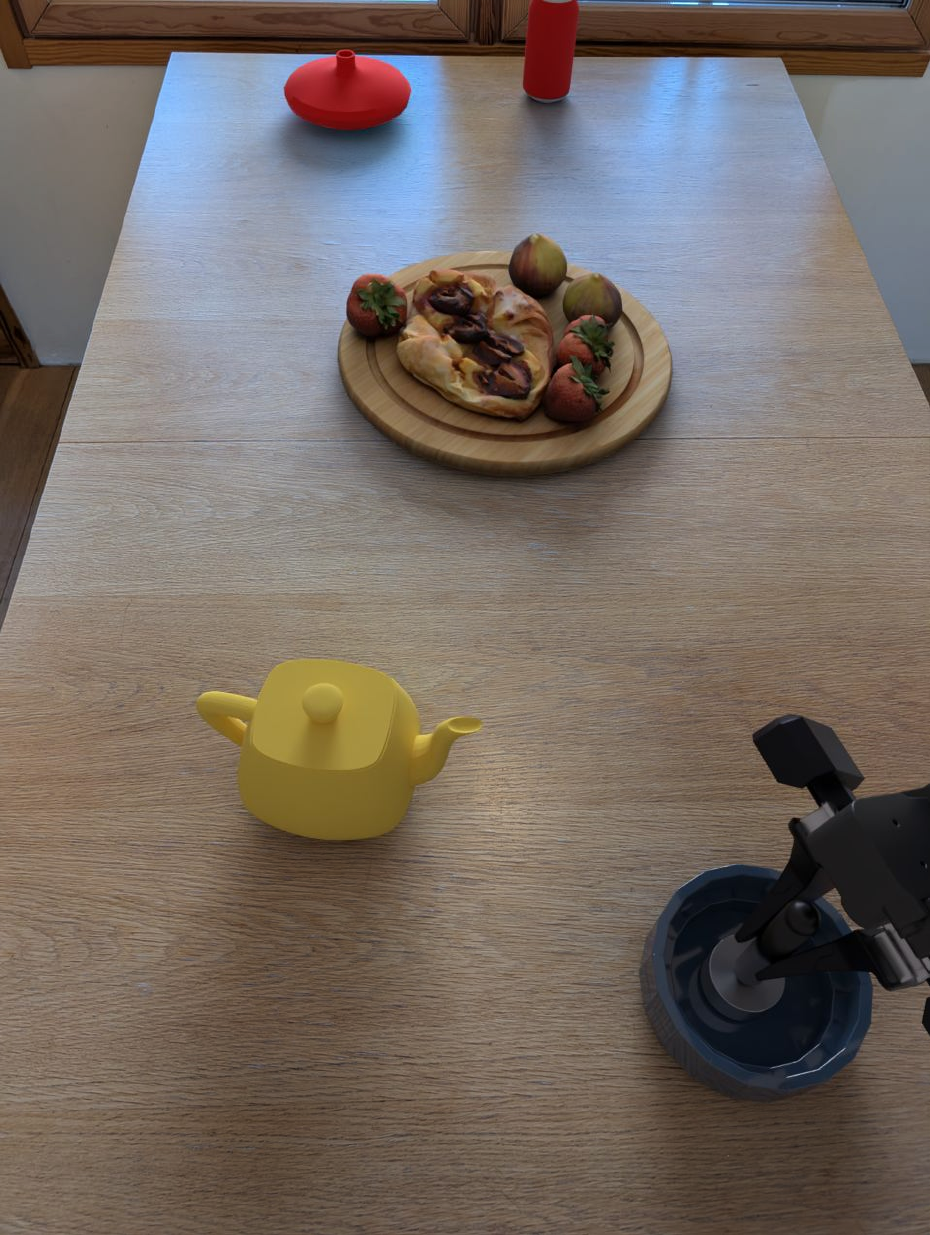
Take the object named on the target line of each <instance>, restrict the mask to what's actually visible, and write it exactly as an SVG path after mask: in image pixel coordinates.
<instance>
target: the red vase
mask: <svg viewBox="0 0 930 1235" xmlns="http://www.w3.org/2000/svg"><path fill="white" fill-rule="evenodd" d="M411 95H412V88H411V84H410V82H409V80H408V79H407V77H406V76H405V75H404V74H403V73H402V72H401V71H400V69H398V68H396V67H395V66H393V65H392V64H391V63H388V62H386V61H382V60H380V59H378V58H377V59H376V58H371V57H368V56H361V55H356V54H355V52H354V51H353V50H351V49H340V50H338V51H337V52H336V54H335V55H334V56H326V57H321V58H318V59H315V60H312V61H311V60H310V61H308V62H306V63H305V64H302V65H300V66H299V67H297V68H296V69H295V70H294V71H293V72H292V73H291V74H290V75H289V77H288V78H287V80H286V82H285V84H284V86H283V96H284V98H285V100H286V103H287V105H288V107H289V109H291V111H292V112H293V113H294V114H295V115H296V116H297V117H299V118H300V119H301V120H303V121H305V122H308V123H311V124H313V125H316V126H319V127H323V128H328V129H332V130H337V131H361V130H366V129H371V128H374V127H377V126H380V125H383V124H386V123H390V122H391V121H393V120H394V119H396V118H398V117H399V116H401V115H402V114H403V112H404V111H405V110H406V109H407V107H408V104H409V102H410V97H411Z"/></svg>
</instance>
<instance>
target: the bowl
mask: <svg viewBox="0 0 930 1235" xmlns="http://www.w3.org/2000/svg"><path fill="white" fill-rule="evenodd" d="M782 872H783V871H779V870H778V869H775V868H771V867H766V866H757V865H750V864H743V863H733V864H730V865H729V864H728V865H724V866H720V867H719V866H718V867H715V868H710V869H706V870H703V871H702V872H700V873H699V874H698V875H696V876H695V877H693V878H691V879H690V880H688V881H687V882H685V883H684V884H683V885H681V886H680V887H678V888H677V889H676V890H675V892H674V893H673V895H672V896H671V897H670V899H669V901H668V902H667V904H666V905H665V907H664V908H663V909H662V911H661V913H660V915H659V916H658V917H657V920H656V921H655V923H653V926H652V927H651V929H650V930H649V932H648V933H647V935H646V937H645V940H644V945H643V950H642V955H641V961H640V965H639V970H638V972H639V973H638V975H639V983H640V989H641V996H642V1002H643V1009H644V1011H645V1015H646V1016H647V1018H648V1020H649V1022H650V1025H651V1027H652V1028H653V1031H654V1033H655V1034H656V1037H657V1039H658V1041H659V1043H660V1045H661V1046H662V1047H663V1049H664V1051H666V1052H667V1054H668V1055H669V1056H670V1057H671V1058H672V1059H673V1060H674V1061H675V1062H676V1063H677V1064H678V1065H679V1066H680V1067H681V1069H682V1070H683V1071H684V1072H685V1073H686V1074H687V1075H688V1076H690V1078H692V1079H693V1080H695V1081H696V1082H698V1083H700V1084H702V1085H704V1086H706V1087H708V1088H709V1089H712V1090H713V1091H715V1092H717V1093H719V1094H720V1095H723V1096H724V1097H726V1098H729V1099H735V1100H741V1101H746V1102H747V1101H748V1102H754V1103H760V1104H770V1103H775V1102H779V1101H783V1100H787V1099H791V1098H794V1097H795V1098H796V1097H799V1096H803V1094H806V1093H808V1092H810V1091H812V1090H814V1089H816V1088H817V1087H819V1086H821V1085H823V1084H825V1083H827V1082H828V1081H830V1080H831V1079H832V1078H834V1077H835V1076H836V1075H837V1074H838V1073H839V1072H840V1071H842V1070H843V1069H845V1067H847V1066H848V1065H849V1064H851V1062H853V1061H854V1060H855V1059H856V1057H857V1056H858V1053H859V1051H860V1049H861V1047H862V1045H863V1042H864V1041H865V1038H866V1037H867V1034H868V1032H869V1030H870V1028H871V1025H872V1016H873V1014H872V1013H873V998H874V984H873V981H872V980H873V979H872V977H871V972H856V971H827V972H819V973H812V974H806V975H799V976H792V977H785V986H784V991H783V994H782V996H781V998H780V999H779V1001H778V1002H777V1003H776V1004H775V1005H774V1006H773V1007H771V1008H770V1009H769V1010H768V1011H767V1012H765V1013H764V1014H763V1015H761V1016H760V1017H758V1018H756V1019H753V1020H748V1021H739V1020H734V1019H731V1018H729V1017H726V1016H725V1015H723V1014H721V1013H720V1012H719V1011H717V1010H716V1009H715V1008H714V1007H713V1006H712V1005H711V1003H710V1002H709V1001H708V999H707V997H706V996H705V993H704V991H703V988H702V984H701V969H702V965H703V962H704V960H705V959H706V957H707V956H708V955H709V953H710V952H711V951H712V950H713V949H714V947H715V946H716V945H717V944H718V943H719V942H720V941H721V940H723V939H724V938H726V937H729V936H732V935H735V934H736V933H737V932H738V930H739V929H740V928H741V927H742V925H743V924H744V923H745V921H746V920H747V919H748V918H749V916H750V915H751V914H752V913H753V911H754V910H755V909H756V908H757V906H758V905H759V904H760V902H761V901H762V900H763V899H764V897H765V896H766V895H767V894H768V893H769V891H770V890H771V888H772V887H773V886H774V884H775V883H776V882H777V880H778V878H779V877H780V875H781V873H782ZM812 904H814V905H815V906H816V908H817V909H818V911H819V913H820V916H821V925H820V927H819V929H818V931H817V932H816V933H815V934H814V935H813V936H812V937H810V938H809V939H808V940H807V941H806V942H805V943H804V944H803V945H802V946H801V947H800V948H798V949H797V950H796V951H795V952H794V953H793V954H792V955H791V956H793V955H796V954H798V953H801V952H804V951H807V950H809V949H812V948H815V947H817V946H820V945H823V944H826V943H828V942H831V941H834V940H836V939H839V938H841V937H843V936H845V935H846V934H848V933H850V932H852V931H853V930H852V929H851V927H850V926H849V924H848V922H847V920H846V919H845V918H844V917H843V914H842V913H841V912H840V911H839V910H838V909H837V908H836V907H835V906H834V905H833V904H832V903H830V902H829V901H828V900H827V899H826V898H825V897H824V896H822V897H820V898H819V899H817V900H816V901H814V902H813V903H812Z"/></svg>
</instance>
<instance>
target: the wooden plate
mask: <svg viewBox="0 0 930 1235" xmlns="http://www.w3.org/2000/svg"><path fill="white" fill-rule="evenodd" d="M345 305H346V307H345V314H346V319H345V321H344V322H343V325H342V328H341V330H340V334H339V338H338V343H337V365H338V371H339V376H340V379H341V383H342V385H343V388H344V391H345V393H346V395H347V397H348V399H349V400H350V402H351V403H352V405H353V406H354V408H355V409H356V411H357V412H358V413H359V414H360V415H361V416H362V417H363V419H364V420H365V421H367V423H369V424H370V425H371V426H372V428H374V429H375V430H376V431H377V432H378V433H380V435H382V436H384V437H385V438H386V439H388V440H389V441H391V442H392V443H394V444H395V445H396V446H398V447H400V448H402V449H403V450H405V451H407V452H408V453H410V454H413V455H416V456H418V457H420V458H422V459H424V460H427V461H430V462H432V463H436V464H438V465H440V466H445V467H447V468H453V469H456V470H461V471H466V472H469V473H475V474H476V473H478V474H483V475H490V476H504V477H505V476H506V477H524V476H525V477H526V476H541V475H550V474H555V473H560V472H566V471H571V470H574V469H578V468H582V467H585V466H587V465H588V466H589V465H590V464H593V463H596V462H598V461H601V460H603V459H605V458H607V457H609V456H612V454H615V453H617V452H618V451H620V450H622V449H623V448H625V447H627V446H628V445H630V444H631V443H632V442H634V441H635V440H637V438H639V437H640V436H641V435H643V433H644V432H645V431H647V429H648V428H649V427H650V426H651V425H652V424H653V422H654V421H655V420H656V419H657V417H658V416H659V414H660V412H661V411H662V409H663V408H664V406H665V403H666V402H667V400H668V397H669V393H670V390H671V388H672V387H671V386H672V380H673V370H674V369H673V356H672V351H671V348H670V345H669V341H668V339H667V337H666V335H665V332H664V331H663V328H662V327H661V325H660V324H659V322H658V321H657V319H656V318H655V317H654V315H653V314H652V313H651V312H650V311H649V309H648V308H647V307H645V305H644V304H642V302H640V301H639V300H638V299H637V298H636V297H635V295H632V294H631V293H629V292H628V291H627V290H626V289H624V288H623V287H622V286H619V285H618V284H617V283H615V282H613V281H612V280H610V279H609V278H608V277H607V276H606V275H604V274H602V273H599V272H594V271H592V270H590V269H587V268H584V267H581V266H579V265H576V264H574V263H571V262H568V261H567V257H566V256H565V253H564V251H563V249H562V248H561V246H560V245H559V244H558V243H557V242H556V241H555V240H554V239H552V238H550V237H549V236H546V235H544V234H541V233H533V234H532V233H531V234H530V235H528V236H526V238H524V239H522V240H521V241H520V242H519V243H518V244H517V245H516V246H515V247H514V249H513V251H506V250H480V251H479V250H478V251H466V252H458V253H451V254H446V255H441V256H436V257H433V258H429V259H426V260H422V261H419V262H416V263H413V264H411V265H408V266H406V267H404V268H403V267H402V268H401V269H400V270H397V271H395V272H394V273H392V274H390V275H388V276H384V275H383V274H381V273H364V274H362V275H361V276H359V277H358V278H357V279H355V281H354V282H353V283H352V286H351V289H350V292H349V294H348V296H347V298H346V303H345Z"/></svg>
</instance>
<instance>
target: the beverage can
mask: <svg viewBox="0 0 930 1235" xmlns="http://www.w3.org/2000/svg"><path fill="white" fill-rule="evenodd" d="M527 13H528V14H527V24H526V35H525V36H526V37H525V50H524V61H523V74H522V88H523V91H524V92H525V94H526V95H527V96H529V97H530V98H531V99H533V100H535V101H537V102H540V103H544V104H548V103H549V104H552V103H556V102H558V101H560V100H563V99H565V98H566V97H567V96H568V95H569V93H570V90H571V84H572V75H573V66H574V59H575V52H576V51H575V50H576V43H577V42H576V41H577V34H578V26H579V16H580V4H579V1H578V0H530V2H529V3H528V12H527Z"/></svg>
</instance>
